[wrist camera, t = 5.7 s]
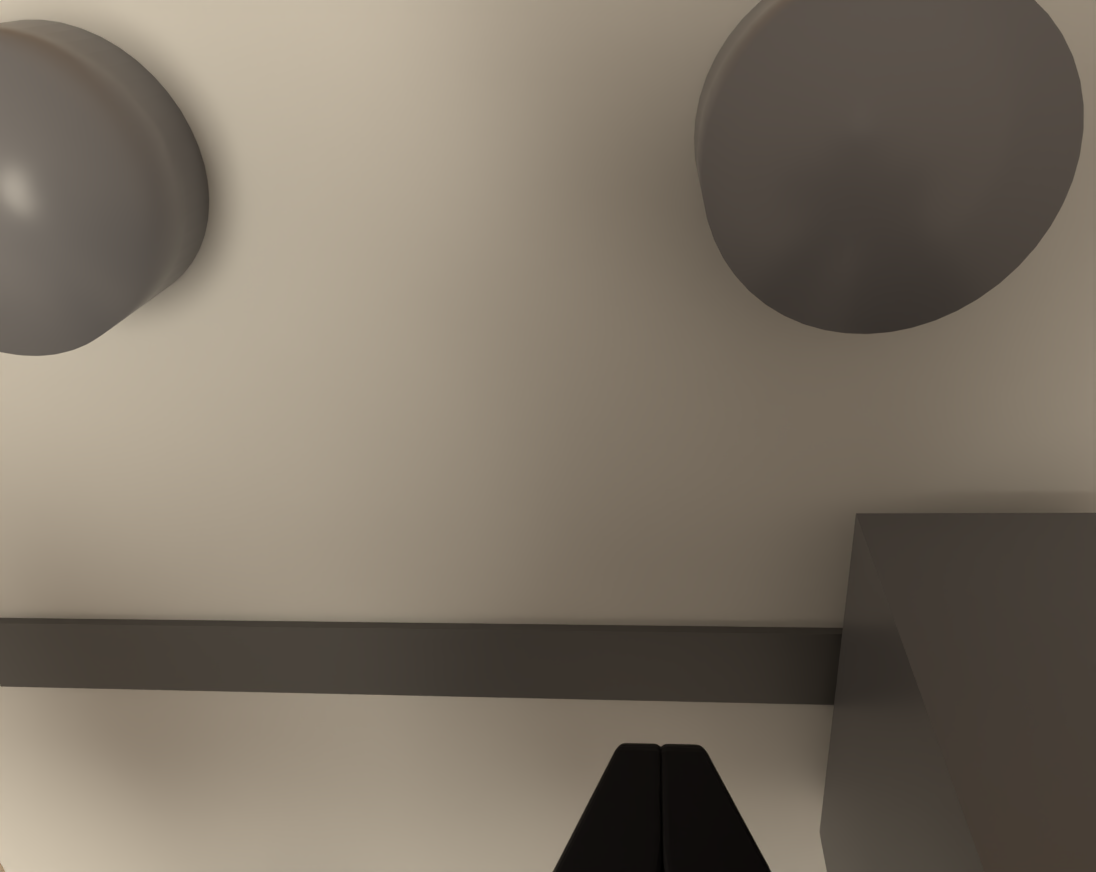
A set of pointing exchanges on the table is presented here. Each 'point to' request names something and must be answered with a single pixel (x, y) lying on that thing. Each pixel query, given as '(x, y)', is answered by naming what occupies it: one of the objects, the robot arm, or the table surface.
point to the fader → (965, 696)
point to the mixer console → (499, 398)
